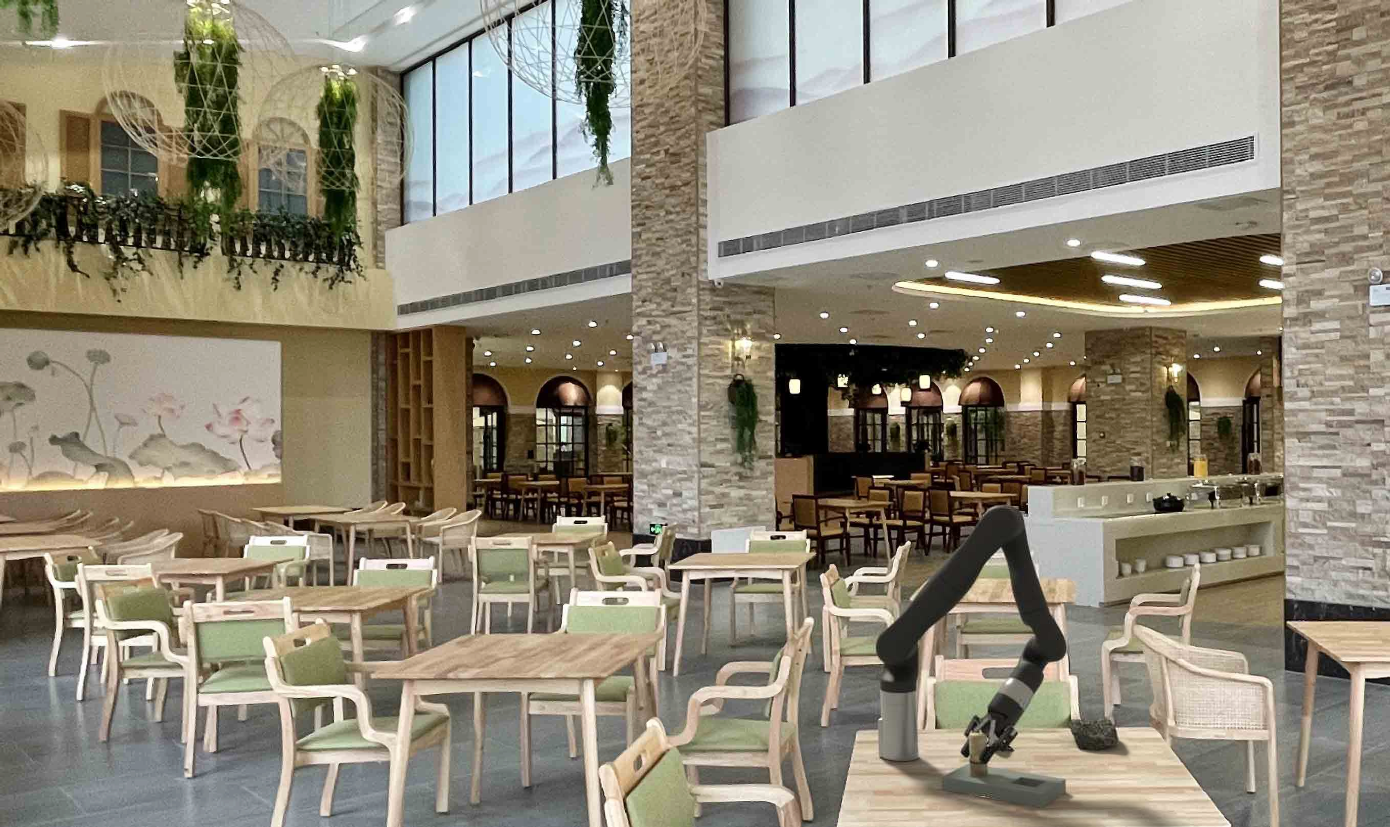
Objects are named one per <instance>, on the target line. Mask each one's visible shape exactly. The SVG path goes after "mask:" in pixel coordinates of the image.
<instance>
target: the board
mask: <svg viewBox="0 0 1390 827" xmlns="http://www.w3.org/2000/svg"><path fill="white" fill-rule="evenodd" d="M1066 781H1067V779H1066V778H1061V777H1054V776H1048V775H1042V774H1038V773H1037V774H1036V773H1030V772H1025V771H1024V772H1023V771H1017V770H1011V769H1005V768H1000V767H999V768H998V767H993V766H988V775H986V776H973V775H971V774H970V762H968V763H966V764H964V765H963V766H961V767H959V768H957V769H955V770H953V771H950V772H949V773H947V774H945V775H943V776H941V790H942V791H946V790H948V792H951V791H953V792H952V793H957V792H959V794H962V793H964V795H968V794H972V795H971V796H973V795H977V796H976V797H979V796H985V797H989V798H988V799H990V798H994V799H993V800H996V799H998V800H997V801H1001V800H1003V801H1002V802H1007V801H1008V803H1013V804H1019V805H1024V806H1028V807H1029V806H1030V807H1035V808H1040V809H1042V808H1044V807H1045V806H1047V805H1048V804H1050V803H1052V802H1054V801H1055V800H1057V799H1058V798H1060V797H1061V796H1063V795H1064V794H1065V793H1067V787H1066V785H1067V783H1066ZM985 797H984V798H985Z"/></svg>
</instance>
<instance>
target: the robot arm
mask: <svg viewBox="0 0 1390 827" xmlns="http://www.w3.org/2000/svg"><path fill="white" fill-rule="evenodd" d="M1026 529H1027V528H1026V524H1025V519H1024V515H1023V514H1022V512H1021V511H1020V509H1018V508H1016V507H1015V506H1013V505H1010V504H1001V505H1000V504H999V505H994V506H992V507H990V508H988V510H986V511H985V513H984V514H983V515H982V516H981V518H980V519H979V521H978V522H977V524H976V525H975V527H974V528H973V530H972V531H971V533H970V534H969V535H968V537H967V538H966V539H965V540H964V542H963V543H962V544H961V545H960V546H959V547H958V548H957V549H956V550H955V551H953V553H951V555H949V556H948V558H947V559H946V560H944V562H943V563H942V564H941V565H940V566H939V567H938V568H937V570H936V571H935V572H934V573H933V574H932V575H931V576H930V577H929V579H928V580H927V581H926V582H925V584H924V585H923V587H922V588H921V589H920V590H919V591H918V592H917V594H916V595H915V597H914V599H912V601H911V602H910V604H908V606H907V608H906V610H904V611H903V612H902V613H901V615H900V616H898V617H897V618H896V619H895V620H894V622H893V623H891V624H890V625H889V626H888V627H887V628H886V629H885V630H883V631H882V632H881V633H879V635H878V637H877V640H876V641H875V642H876V643H875V653H876V655H877V657H878V659H879V660H880V661H881V662H882V663H883V670H882V673H881V676H880V679H879V684H880V685H879V687H880V688H879V690H880V692H879V693H880V718H878V720H877V731H878V732H877V735H878V736H877V737H878V738H877V739H878V740H877V741H878V757H881V758H884V759H885V760H888V761H895V762H907V761H908V762H909V761H914V760H917V759H918V758H919V732H918V730H919V729H918V728H919V726H918V725H919V724H918V723H919V722H918V696H917V695H918V692H917V691H918V690H917V689H918V688H917V685H918V684H917V682H918V679H919V666H920V665H919V664H920V663H919V659H920V658H919V642H920V640H921V639H922V637H924V635H925V633H926V632H928V631H929V630H930V629H931V628H932V627H933V626H934V625H935V624H936V623H937V622H939V621H941V619H943V618H944V617H946V616H947V615H948V614H949V613H950V612H951V611H952V610H953V609H954V608H955V607H956V606H957V605H958V604H959V603H960V602H961V600H963V599H964V598H965V596H966V595H967V594H968V593H969V592H970V590H971V588H972V587H973V586H974V584H975V582H976V581H977V579H978V577H979V576H980V574H981V572H982V570H983V568H984V567H985V566H986V564H987V562H988V561H989V560H990V559H991V558H992V557H993V556H994V555H995V554H996V553H997V552H998V551H999V550H1000V549H1001V550H1002V552H1003V554H1004V557H1005V561H1006V564H1007V568H1008V571H1009V579H1010V586H1011V590H1012V594H1013V599H1014V603H1015V604H1016V608H1017V610H1018V613H1019V615H1020V619H1021V621H1022V623H1023V625H1025V626H1027V627H1029V628H1030V629H1031V631H1032V632H1033V634H1034V636H1032V637H1030V639H1029V640H1028V641H1027V642H1026V644H1025V645H1024V647H1023V649H1022V652H1021V655H1020V657H1019V659H1018V662H1017V665H1016V666H1015V667H1014V669H1013V670H1012V672H1011V673H1010V675H1009V676H1008V677H1007V679H1006V680H1005V681H1004V682H1003V683H1002V684H1001V686H1000V687H999V688H998V690H997V692H996V693H995V694H994V696H993V697H992V699H991V700H990V702H989V703H988V705H987V713H986V714H985V715H983V717H980V716H978V715H977V714H975V715H973V717H972V718H971V719H970V721H969V723H968V725H967V727H966V729H965V730H964V733H963V735H964V737H965V738H966V742H965V743H964V744H963V746H962V747H961V750H960V754H961V755H962V756H963V757H964V758H966V759H968V758H970V747H969V734H972V733H982V734H986V735H987V739H988V738H990V739H989V744H988V745H987V746H986V748H985V749H984V751H983V752H982V754H981V755H980V757H979V760H980V761H981V762H982V763H983V764H987V763H988V764H989V762H990V760H991V759H992V757H993V756H994V754H995V753H998V752H1001V753H1003V752H1005V751H1006V750H1007V748H1008V746H1011V744H1012V742H1013V741H1014V739H1015V738H1016V737H1017V736H1018V734H1019V732H1018V730H1016V728H1014V727H1016V726H1017V724H1018V722H1019V720H1020V719H1021V717H1022V716H1023V715H1024V713H1025V712H1026V711H1027V708H1028V707H1029V705H1030V704H1031V702H1032V699H1033V697H1034V696H1035V694H1036V693H1037V691H1038V689H1040V686H1041V685H1042V683H1043V681H1044V679H1045V674H1044V671H1045V668H1046V667H1047V665H1048V664H1050V663H1055V662H1059V661H1061V660H1063V659H1064V658H1065V656H1066V654H1067V650H1068V647H1067V642H1066V638H1065V636H1064V634H1063V631H1062V629H1061V628H1060V627H1059V624H1058V623H1057V622H1056V620H1055V618H1054V617H1053V615H1052V613H1051V612H1050V607H1049V605H1048V603H1047V599H1046V597H1045V593H1044V591H1043V588H1042V585H1041V583H1040V580H1039V578H1038V575H1037V571H1036V569H1035V565H1034V562H1033V558H1032V554H1031V550H1030V547H1029V541H1028V535H1027V534H1028V533H1027V530H1026ZM1003 741H1004V742H1005V743H1004V744H1002V742H1003Z"/></svg>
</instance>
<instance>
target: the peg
mask: <svg viewBox="0 0 1390 827" xmlns="http://www.w3.org/2000/svg"><path fill="white" fill-rule="evenodd" d="M971 733H972V732H971ZM971 733H970V734H969V747H970V755H969V759H968V763H969V764H970V774H971V775H973V776H986V775H988V767H989V766H988V765H989V762H988V763H987V764H983V763H982V762H981V761H980V760H979V757H980V755H981V754H982V752H983V751H984V749H985V748H986V746H988V745H987V742H988V738H987V735H986V734H983V733H982V732H980V733H972V734H971Z"/></svg>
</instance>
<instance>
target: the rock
mask: <svg viewBox="0 0 1390 827" xmlns="http://www.w3.org/2000/svg"><path fill="white" fill-rule="evenodd" d="M1068 729H1069V730H1070V733H1071V734H1072V736H1073V739H1074V742H1075V745H1076V747H1077V749H1078V748H1079V749H1078V750H1081V748H1082V749H1090V750H1093V749H1094V750H1095V751H1096V750H1100V749H1102V748H1101V747H1104V748H1107V747H1108V746H1117V744H1118V742H1117V741H1119V739H1120V738H1119V737H1118V731H1117V728H1116V727H1115V725H1114V723H1113V722H1112V720H1111V719H1110V718H1109V717H1108V716H1103V717H1102V716H1099V717H1090V718H1085V719H1083V718H1082V719H1081V718H1077V719H1075V718H1073V719H1069V721H1068ZM1106 746H1107V747H1106ZM1099 748H1100V749H1099Z"/></svg>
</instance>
